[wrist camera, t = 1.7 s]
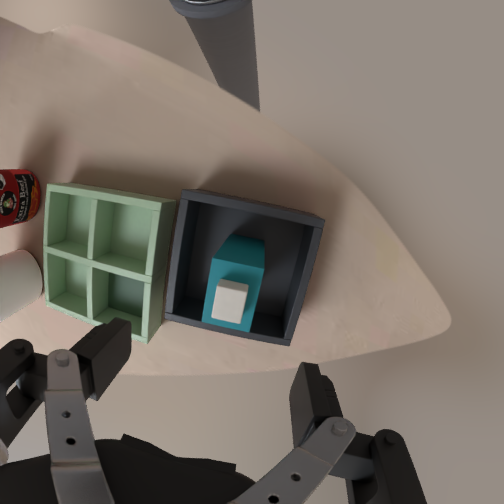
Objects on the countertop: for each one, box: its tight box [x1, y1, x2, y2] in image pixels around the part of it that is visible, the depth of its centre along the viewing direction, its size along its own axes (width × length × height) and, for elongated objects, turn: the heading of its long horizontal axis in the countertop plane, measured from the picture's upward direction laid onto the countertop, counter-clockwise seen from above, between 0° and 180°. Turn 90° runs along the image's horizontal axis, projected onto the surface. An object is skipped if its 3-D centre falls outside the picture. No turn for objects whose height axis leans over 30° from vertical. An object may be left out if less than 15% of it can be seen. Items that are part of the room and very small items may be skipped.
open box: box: [164, 189, 325, 346], centre depth 28 cm, size 13×13×6 cm
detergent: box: [202, 234, 265, 332], centre depth 24 cm, size 5×4×12 cm
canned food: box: [0, 169, 40, 228], centre depth 24 cm, size 8×8×11 cm
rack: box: [43, 183, 176, 344], centre depth 29 cm, size 15×15×5 cm
